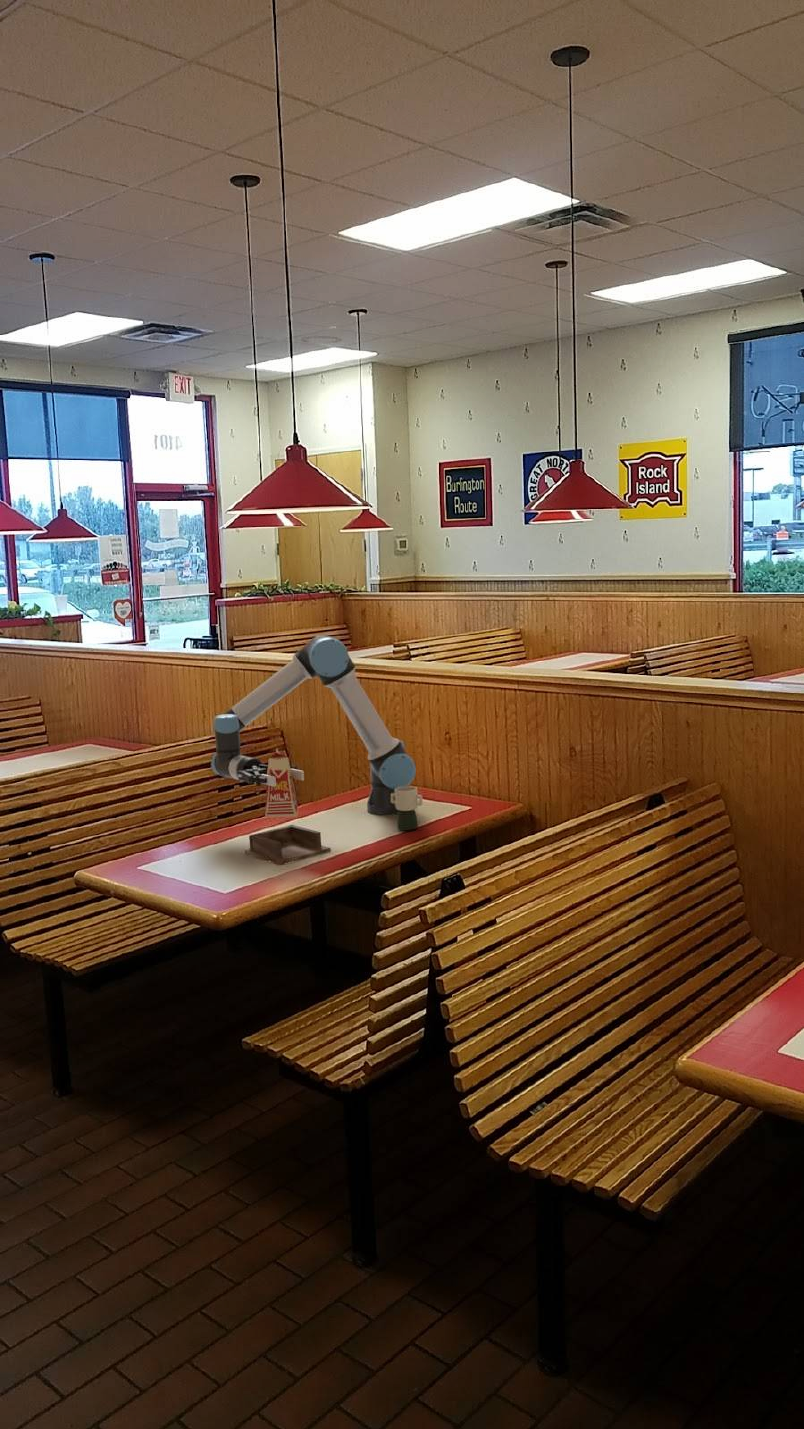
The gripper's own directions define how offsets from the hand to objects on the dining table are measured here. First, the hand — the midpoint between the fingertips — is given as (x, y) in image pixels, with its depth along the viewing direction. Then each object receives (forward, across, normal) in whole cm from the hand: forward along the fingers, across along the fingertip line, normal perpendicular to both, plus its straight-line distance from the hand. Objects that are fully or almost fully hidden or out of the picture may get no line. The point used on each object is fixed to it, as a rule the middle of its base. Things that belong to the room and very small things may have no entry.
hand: (288, 778), depth 319 cm
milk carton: (-5, 0, -11) cm, 12 cm away
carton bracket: (-2, +1, -22) cm, 22 cm away
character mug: (+6, -38, -22) cm, 45 cm away
